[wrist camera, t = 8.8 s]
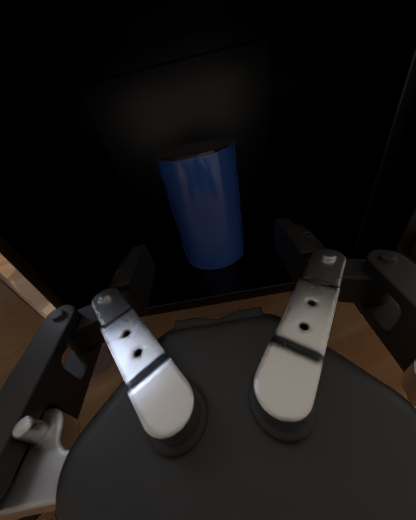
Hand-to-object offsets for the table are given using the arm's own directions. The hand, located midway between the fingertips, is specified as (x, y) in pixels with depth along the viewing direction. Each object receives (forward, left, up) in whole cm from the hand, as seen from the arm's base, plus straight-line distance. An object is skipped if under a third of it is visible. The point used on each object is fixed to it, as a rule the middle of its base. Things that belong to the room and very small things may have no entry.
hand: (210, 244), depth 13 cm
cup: (+6, +5, -6) cm, 9 cm away
